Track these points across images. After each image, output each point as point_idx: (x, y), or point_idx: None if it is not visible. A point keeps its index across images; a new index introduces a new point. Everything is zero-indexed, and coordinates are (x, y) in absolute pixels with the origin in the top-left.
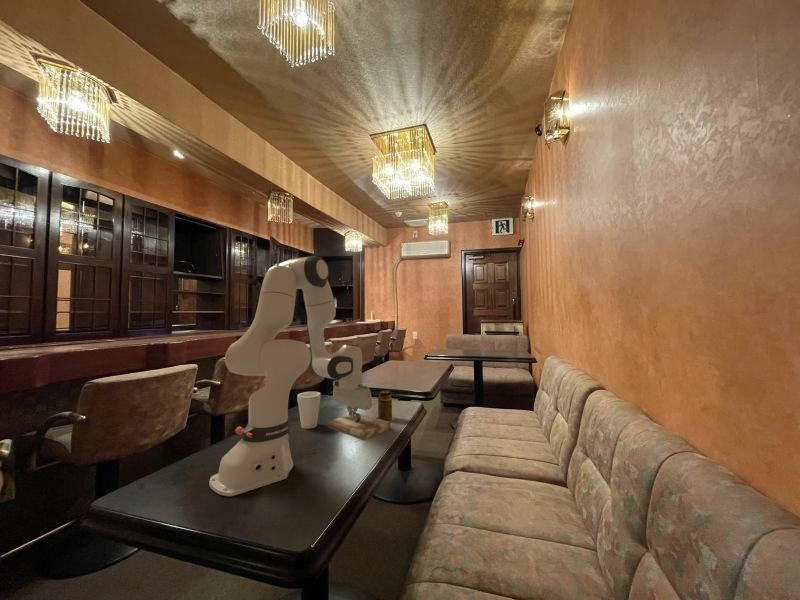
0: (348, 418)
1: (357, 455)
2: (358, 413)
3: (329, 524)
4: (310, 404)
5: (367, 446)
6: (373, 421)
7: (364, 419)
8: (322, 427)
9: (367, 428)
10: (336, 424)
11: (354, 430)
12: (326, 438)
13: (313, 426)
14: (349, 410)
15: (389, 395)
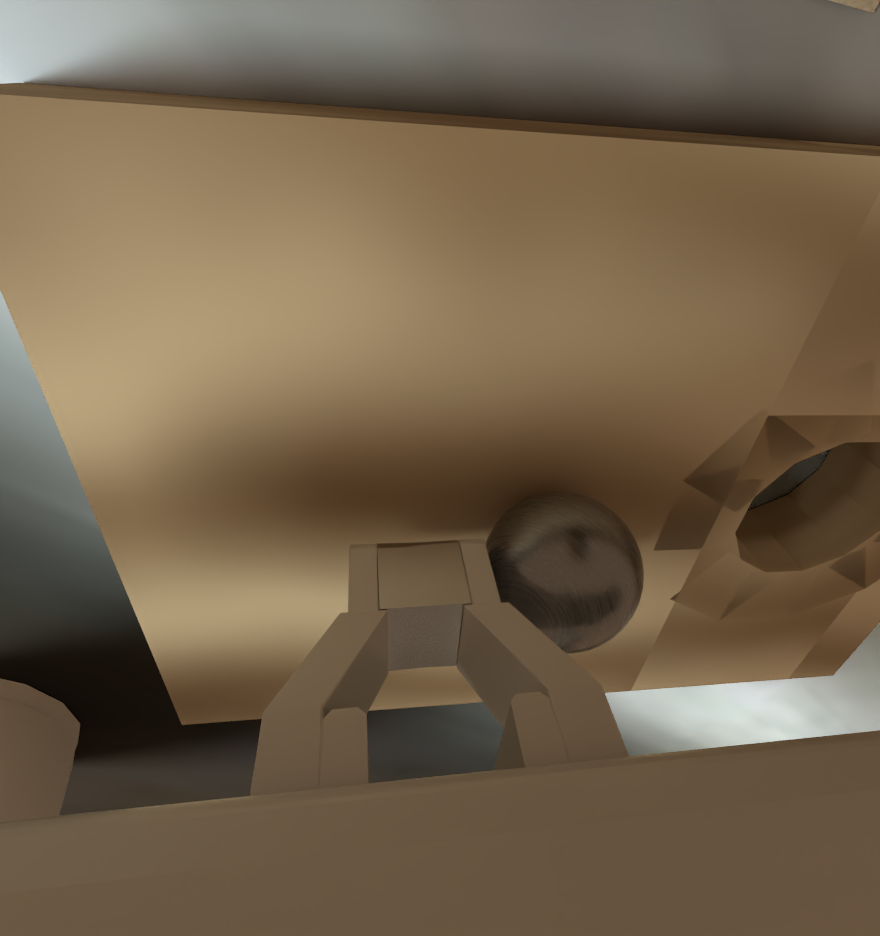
0: (290, 519)
1: (836, 733)
2: (609, 612)
3: None
4: None
5: (866, 652)
6: (843, 359)
7: (611, 384)
8: (144, 673)
9: (837, 592)
10: (376, 708)
11: (700, 682)
12: (453, 740)
13: (70, 729)
14: (368, 703)
15: None
